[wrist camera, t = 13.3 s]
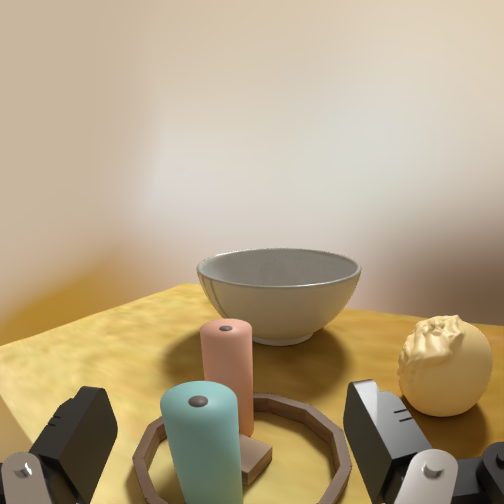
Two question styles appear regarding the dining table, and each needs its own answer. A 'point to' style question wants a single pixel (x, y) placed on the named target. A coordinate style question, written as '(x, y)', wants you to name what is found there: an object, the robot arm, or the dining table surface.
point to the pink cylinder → (231, 363)
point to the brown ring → (257, 446)
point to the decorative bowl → (279, 290)
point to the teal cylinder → (204, 441)
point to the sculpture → (444, 366)
